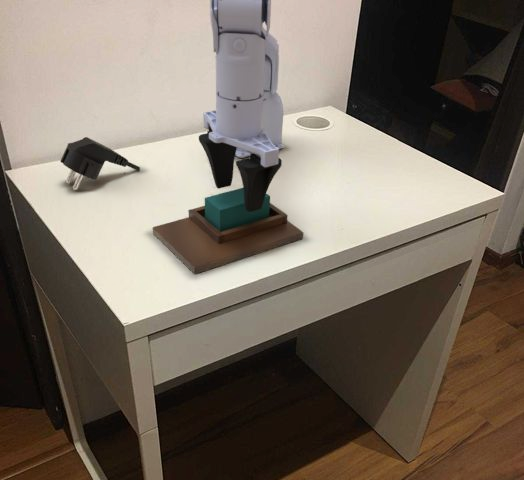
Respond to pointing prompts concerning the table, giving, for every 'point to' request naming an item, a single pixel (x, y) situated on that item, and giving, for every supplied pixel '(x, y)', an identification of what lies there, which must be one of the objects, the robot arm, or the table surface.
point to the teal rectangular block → (232, 210)
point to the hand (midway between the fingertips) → (238, 197)
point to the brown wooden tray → (223, 238)
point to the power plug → (90, 159)
